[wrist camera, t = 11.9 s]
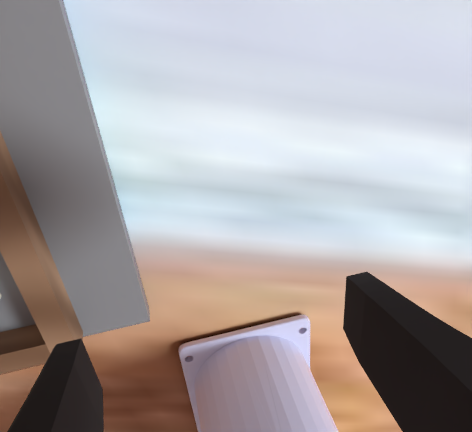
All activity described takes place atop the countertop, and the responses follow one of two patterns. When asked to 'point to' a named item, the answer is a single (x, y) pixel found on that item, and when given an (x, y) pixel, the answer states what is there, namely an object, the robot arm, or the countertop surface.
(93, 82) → the countertop surface
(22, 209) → the jig board
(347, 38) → the countertop surface
